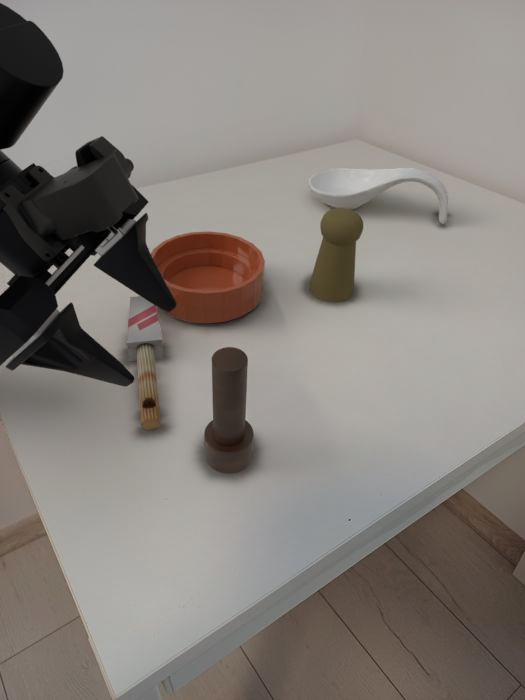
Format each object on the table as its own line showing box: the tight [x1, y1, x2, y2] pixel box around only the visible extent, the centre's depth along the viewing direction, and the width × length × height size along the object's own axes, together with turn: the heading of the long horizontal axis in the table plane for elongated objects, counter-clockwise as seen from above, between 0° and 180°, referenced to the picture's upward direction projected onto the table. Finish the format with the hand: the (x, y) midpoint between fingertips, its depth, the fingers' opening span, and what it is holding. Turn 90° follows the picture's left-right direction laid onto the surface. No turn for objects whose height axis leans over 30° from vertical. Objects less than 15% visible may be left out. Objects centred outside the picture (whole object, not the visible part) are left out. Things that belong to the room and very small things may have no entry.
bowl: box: [150, 231, 266, 324], centre depth 65 cm, size 14×14×5 cm
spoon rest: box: [307, 167, 449, 225], centre depth 86 cm, size 24×12×7 cm, turn 75°
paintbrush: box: [126, 295, 165, 431], centre depth 56 cm, size 4×3×20 cm
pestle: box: [203, 346, 255, 474], centre depth 44 cm, size 4×4×12 cm
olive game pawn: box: [308, 208, 364, 303], centre depth 65 cm, size 6×6×11 cm
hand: (153, 342), depth 40 cm, fingers open, 9 cm apart
